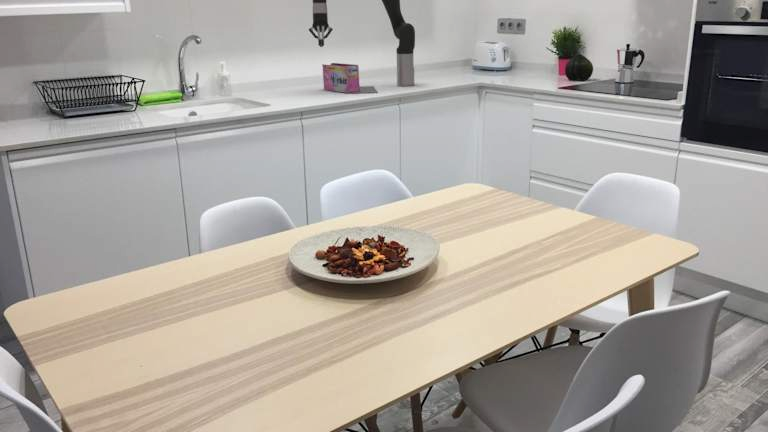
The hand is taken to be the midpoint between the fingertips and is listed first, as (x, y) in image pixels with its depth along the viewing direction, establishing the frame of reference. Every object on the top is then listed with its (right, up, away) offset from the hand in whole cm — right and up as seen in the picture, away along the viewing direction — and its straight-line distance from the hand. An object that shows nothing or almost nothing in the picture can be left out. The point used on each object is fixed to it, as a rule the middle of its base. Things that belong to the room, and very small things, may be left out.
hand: (321, 46), depth 356 cm
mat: (+22, -21, +7) cm, 31 cm away
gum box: (+10, -22, +6) cm, 25 cm away
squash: (+141, -13, +24) cm, 143 cm away
